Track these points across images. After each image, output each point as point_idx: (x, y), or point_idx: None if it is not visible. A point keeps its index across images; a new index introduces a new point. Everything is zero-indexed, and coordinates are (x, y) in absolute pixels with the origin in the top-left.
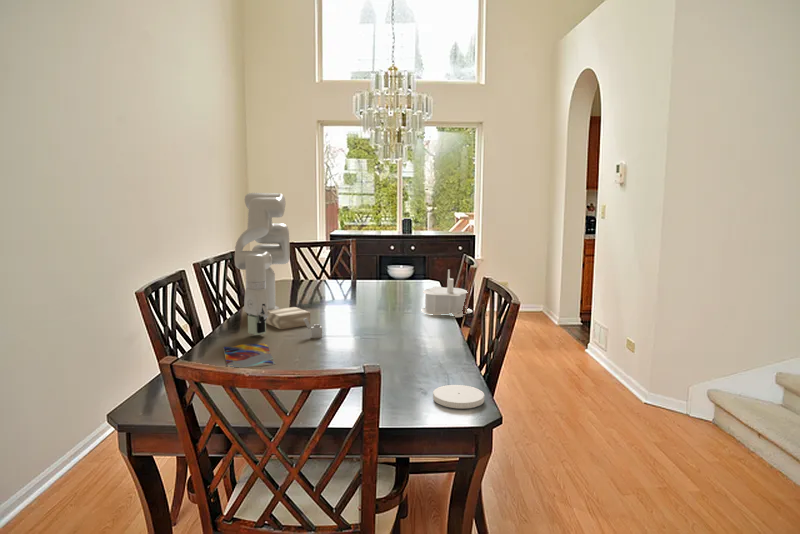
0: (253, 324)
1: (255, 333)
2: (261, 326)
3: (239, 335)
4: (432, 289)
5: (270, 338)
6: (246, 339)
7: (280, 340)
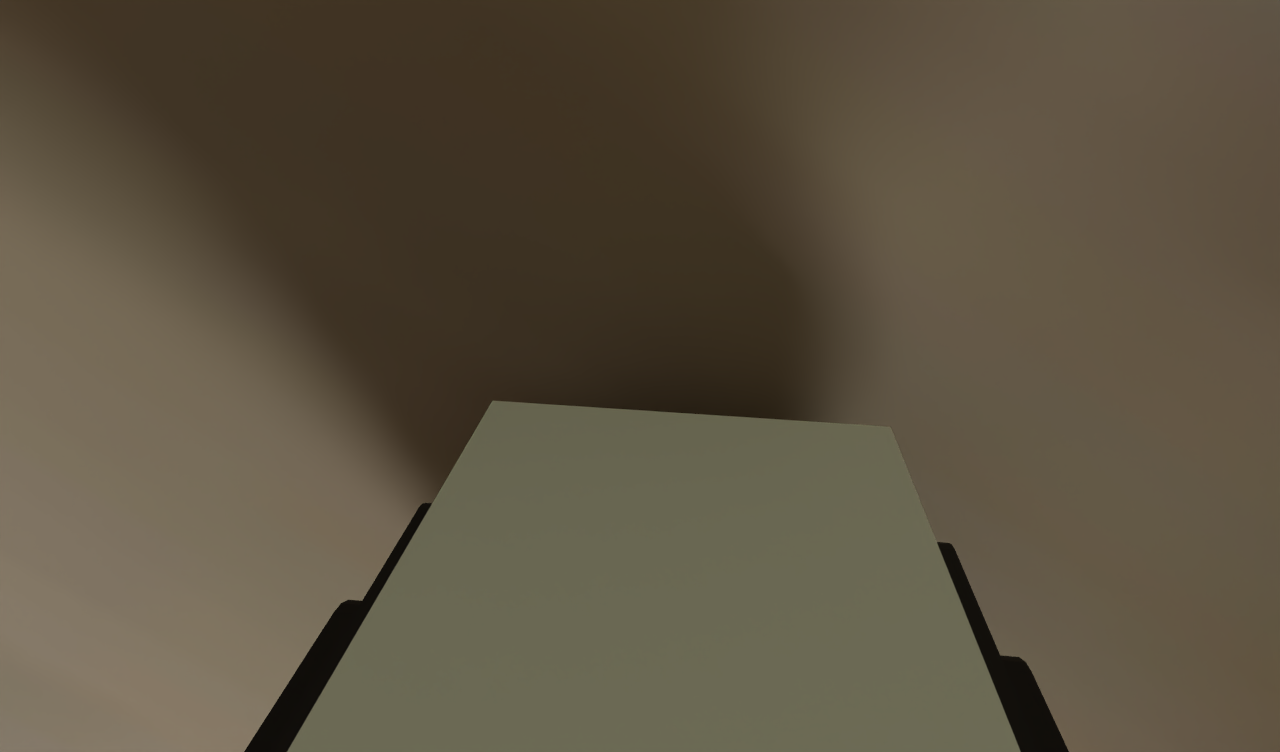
0: (487, 626)
1: (475, 438)
2: (287, 718)
3: (1199, 295)
4: None
5: (334, 601)
6: (654, 173)
7: (61, 627)
